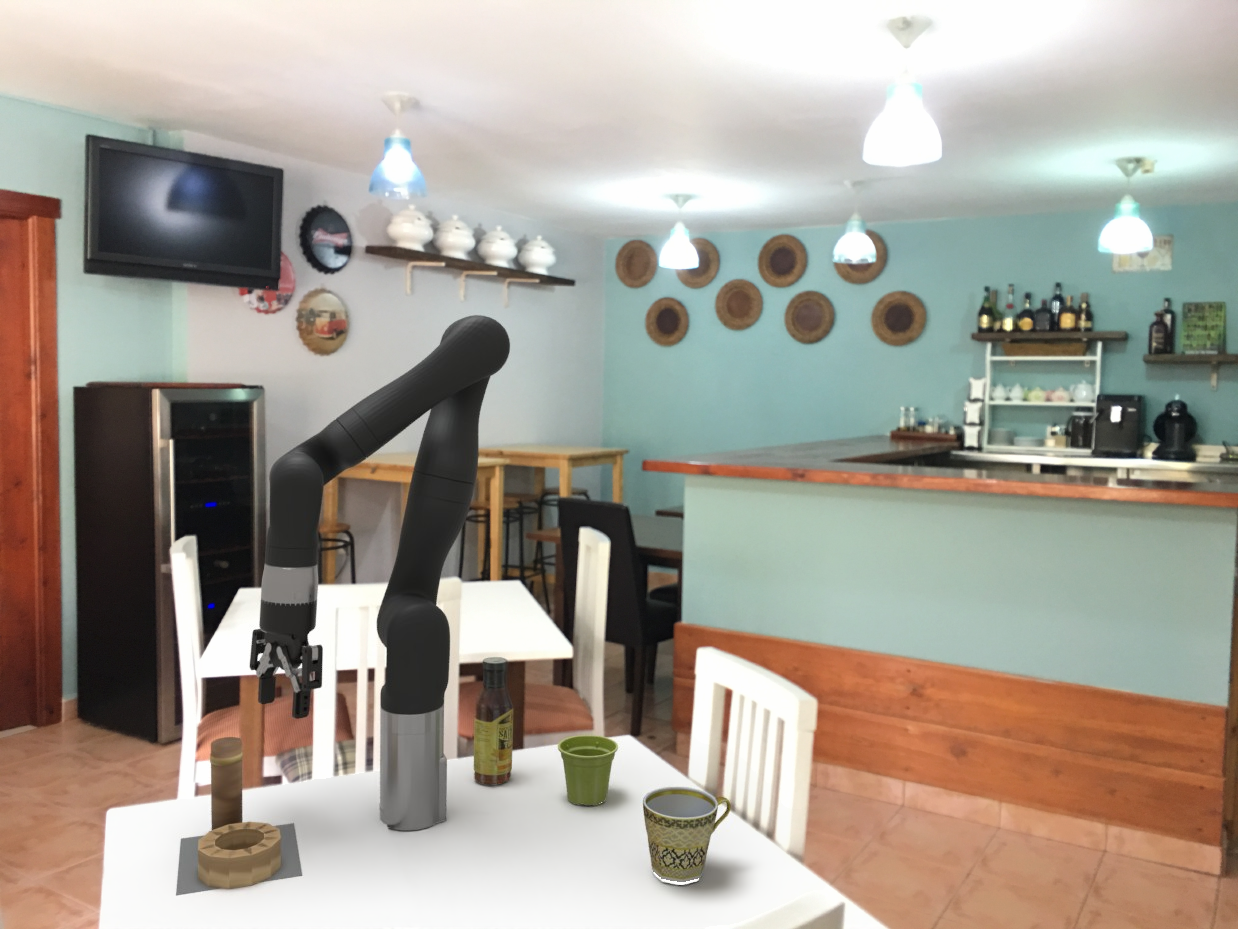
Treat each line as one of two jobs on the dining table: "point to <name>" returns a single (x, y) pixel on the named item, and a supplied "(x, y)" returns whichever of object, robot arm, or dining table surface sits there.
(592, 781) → the plant pot
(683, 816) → the ceramic cup
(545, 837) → the dining table surface
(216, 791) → the banded wooden cylinder
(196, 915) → the dining table surface
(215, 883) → the tan faceted ring
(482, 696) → the sauce bottle
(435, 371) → the robot arm
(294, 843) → the mat
